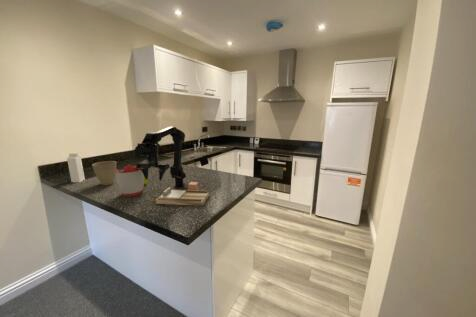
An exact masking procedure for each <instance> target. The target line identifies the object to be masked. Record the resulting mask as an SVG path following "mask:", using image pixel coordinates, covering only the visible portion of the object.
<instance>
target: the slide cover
mask: <svg viewBox="0 0 476 317" xmlns="http://www.w3.org/2000/svg"><path fill="white" fill-rule="evenodd" d="M171 189H172V187H171V186H170V187H167V188H166V189H165V190H164V191H162V194H163V196H162V197H161V198H181V197H182V196H183V195H184V194H185V193H186V191H181V190H182V189H177V190H171Z"/></svg>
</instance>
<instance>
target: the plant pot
mask: <svg viewBox="0 0 476 317" xmlns="http://www.w3.org/2000/svg"><path fill="white" fill-rule="evenodd" d="M91 166H92V169H93V171H94V173H95V176H96V178H97V180H98V182H100V184H101V185H102V186H110V185H113V184H114V183H115V177H116V172H115V170H117V161H115V160H106V161H98V162H95V163H92V164H91Z"/></svg>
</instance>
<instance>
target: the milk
mask: <svg viewBox="0 0 476 317" xmlns="http://www.w3.org/2000/svg"><path fill="white" fill-rule="evenodd" d="M66 160H67V164H68V165H67V166H68V171H69V176H70V180H71V183H72V182H73V183H81V182H84V181H85V173H84V167H83V162H82V157H81V155H78V153H69V154H68V157H67V158H66ZM83 180H84V181H83Z"/></svg>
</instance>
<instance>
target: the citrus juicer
mask: <svg viewBox="0 0 476 317" xmlns="http://www.w3.org/2000/svg"><path fill="white" fill-rule="evenodd" d="M115 172H116V174H115V176H116V182H117V187H118V189H119V191H120V192H119V193H120V194H121V195H122V196H123V197H128V198H129V197H135V196H138V195H140V194H142V193H143V191H144V187H145V184H144V176H143V172H142V171H141V170H140V169H138V168H136V165H131V164H127V165H125V166H124V169H123V170H122V171H120V170H119V169H116V170H115Z"/></svg>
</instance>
